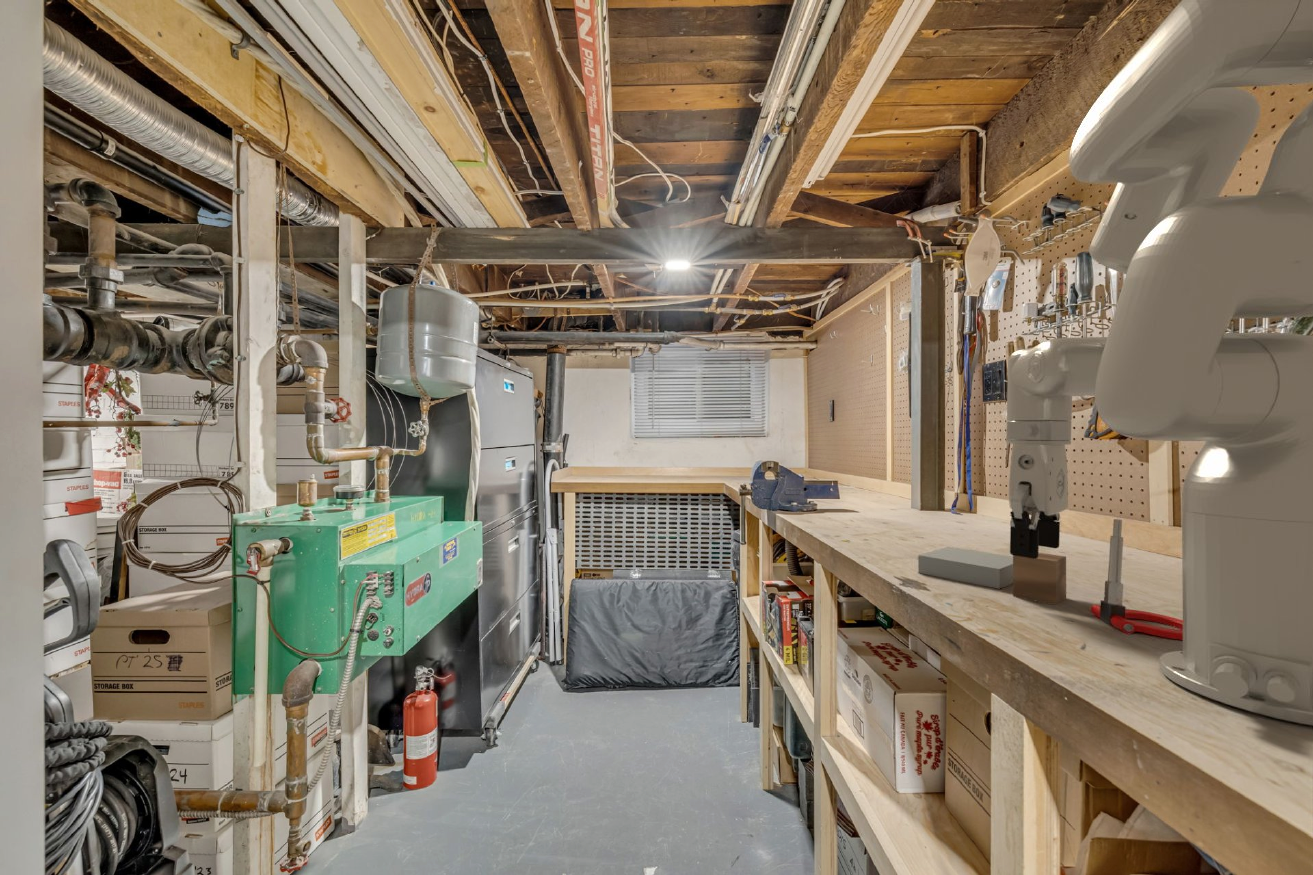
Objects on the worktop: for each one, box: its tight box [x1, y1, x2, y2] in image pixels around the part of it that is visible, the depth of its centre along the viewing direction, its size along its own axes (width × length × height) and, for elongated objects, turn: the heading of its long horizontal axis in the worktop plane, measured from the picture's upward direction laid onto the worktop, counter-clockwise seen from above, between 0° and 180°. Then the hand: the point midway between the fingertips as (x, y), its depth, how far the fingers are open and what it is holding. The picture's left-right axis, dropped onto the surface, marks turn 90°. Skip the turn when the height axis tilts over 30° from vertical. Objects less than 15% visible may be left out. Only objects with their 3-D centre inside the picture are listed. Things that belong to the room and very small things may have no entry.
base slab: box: [917, 546, 1013, 589], centre depth 85 cm, size 12×12×3 cm
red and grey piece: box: [1089, 518, 1183, 641], centre depth 61 cm, size 8×13×9 cm
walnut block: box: [1012, 552, 1067, 606], centre depth 73 cm, size 5×5×6 cm
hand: (1035, 551), depth 74 cm, fingers open, 9 cm apart
